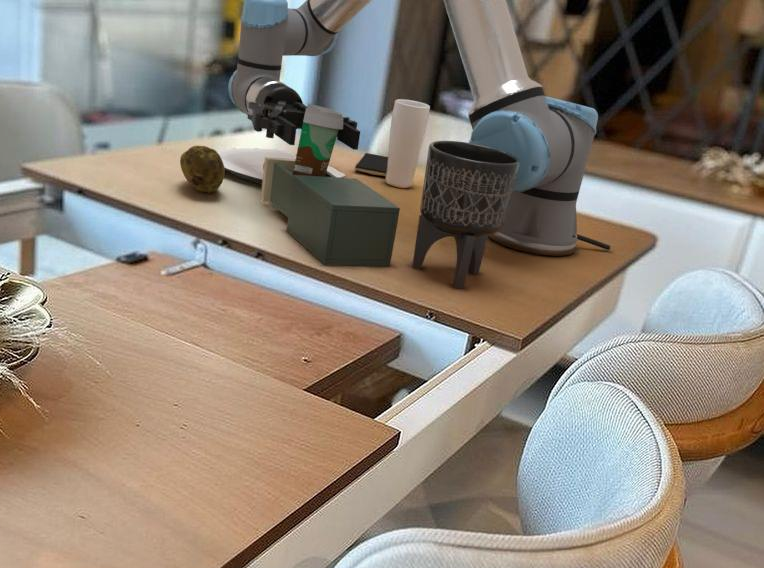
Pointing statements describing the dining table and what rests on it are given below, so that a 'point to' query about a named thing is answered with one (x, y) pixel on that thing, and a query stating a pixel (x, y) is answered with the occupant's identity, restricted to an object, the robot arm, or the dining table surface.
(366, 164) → the smartphone
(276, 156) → the plate
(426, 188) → the planter
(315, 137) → the food container
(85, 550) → the dining table surface
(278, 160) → the drawer
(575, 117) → the robot arm
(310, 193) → the cabinet
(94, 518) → the dining table surface
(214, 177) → the potato
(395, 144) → the drinking glass
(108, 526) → the dining table surface
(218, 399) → the dining table surface
